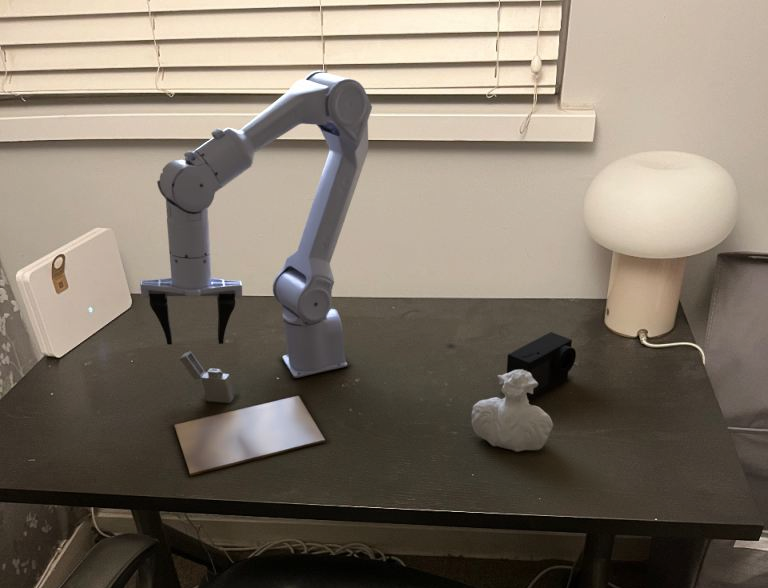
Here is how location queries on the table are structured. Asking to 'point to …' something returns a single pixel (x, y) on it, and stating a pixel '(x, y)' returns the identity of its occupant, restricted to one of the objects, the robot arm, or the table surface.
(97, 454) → the table surface
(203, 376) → the lighter
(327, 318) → the robot arm
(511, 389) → the bust
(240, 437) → the wooden board
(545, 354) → the digital camera
